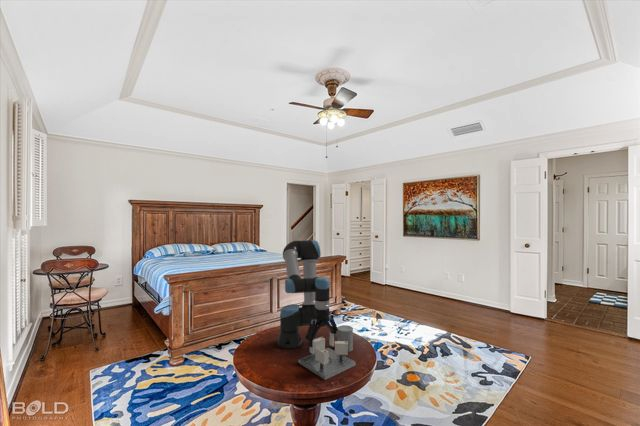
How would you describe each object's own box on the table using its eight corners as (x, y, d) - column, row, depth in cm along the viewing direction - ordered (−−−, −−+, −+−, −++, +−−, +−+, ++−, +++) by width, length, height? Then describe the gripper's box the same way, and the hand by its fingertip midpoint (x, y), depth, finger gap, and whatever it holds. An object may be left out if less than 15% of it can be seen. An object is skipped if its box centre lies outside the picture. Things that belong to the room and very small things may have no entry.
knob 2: (334, 359, 166) (334, 342, 166) (334, 357, 169) (334, 339, 169) (347, 360, 166) (347, 342, 165) (347, 357, 169) (347, 340, 168)
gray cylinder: (352, 352, 179) (352, 332, 179) (335, 351, 181) (336, 330, 181) (353, 345, 188) (353, 325, 188) (338, 344, 190) (338, 324, 190)
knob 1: (315, 365, 160) (315, 346, 160) (319, 363, 162) (319, 345, 162) (324, 370, 154) (324, 351, 154) (328, 368, 156) (328, 349, 156)
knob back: (315, 358, 168) (315, 340, 168) (312, 356, 170) (312, 338, 170) (324, 354, 172) (325, 337, 172) (321, 352, 174) (321, 335, 174)
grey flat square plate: (298, 362, 167) (298, 357, 167) (328, 350, 181) (328, 345, 181) (325, 379, 150) (325, 373, 150) (355, 365, 164) (355, 359, 164)
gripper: (307, 314, 147) (307, 359, 147) (344, 305, 163) (344, 344, 163) (298, 311, 153) (298, 353, 152) (334, 301, 169) (334, 340, 169)
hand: (322, 349), depth 158 cm, fingers open, 13 cm apart
